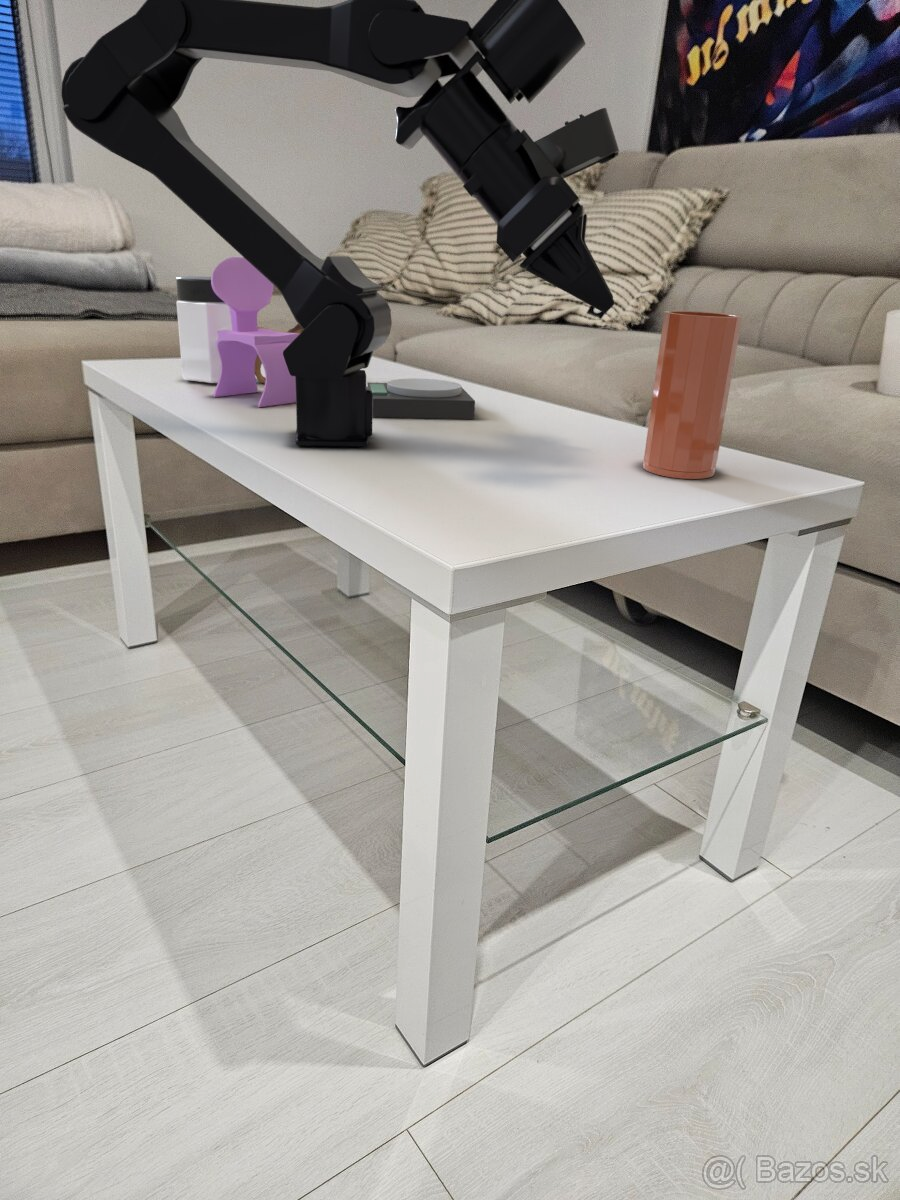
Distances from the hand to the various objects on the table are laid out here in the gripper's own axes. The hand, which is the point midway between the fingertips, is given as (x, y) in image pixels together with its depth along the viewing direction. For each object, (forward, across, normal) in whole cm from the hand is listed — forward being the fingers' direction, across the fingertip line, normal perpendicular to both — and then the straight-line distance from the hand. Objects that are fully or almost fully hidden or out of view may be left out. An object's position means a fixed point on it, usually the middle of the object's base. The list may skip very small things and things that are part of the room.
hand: (609, 305), depth 68 cm
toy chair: (-18, +18, +36) cm, 44 cm away
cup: (+15, 0, +4) cm, 15 cm away
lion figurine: (-19, +32, +38) cm, 53 cm away
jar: (-25, +29, +43) cm, 58 cm away
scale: (-5, +19, +23) cm, 31 cm away
